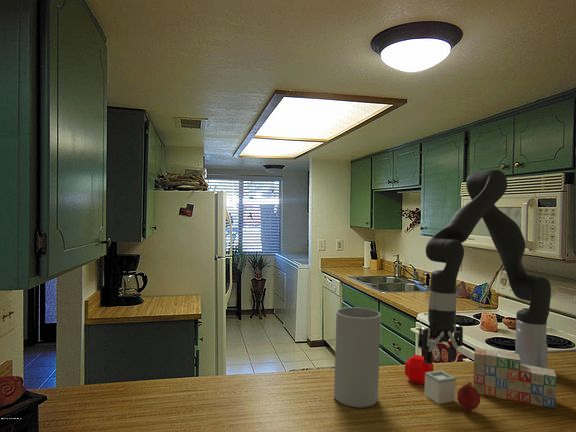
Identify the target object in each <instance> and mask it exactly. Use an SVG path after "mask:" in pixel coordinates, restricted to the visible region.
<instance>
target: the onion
mask: <svg viewBox="0 0 576 432" xmlns="http://www.w3.org/2000/svg"><path fill="white" fill-rule="evenodd" d="M456 396H457V398H456V399H457V402H458V404H459V405H460V406H461V407H462V408H463V409H464V410H466V411H467V412H471V411H473V410H475V409H477V408H478V407H479V405H480V404H481V394H479V393H478V391H477V390H476V389H475V388H474V385H473V383H472V382H471V381H468V382H467V383H466V384H464V385H462V386H461V387H460V388H459V389H458V391H457V394H456Z"/></svg>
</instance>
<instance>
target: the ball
mask: <svg viewBox="0 0 576 432" xmlns="http://www.w3.org/2000/svg"><path fill="white" fill-rule="evenodd" d="M432 371H434V364H433V363H432V364H427V363H425V361H424V355H419V354H414V355H413V356H411V357H409V359H407V360H406V361H405V363H404V374H405V376H406V377H407V378H408V379H409V381H410V383H415V382H416V384H419V383H420V385H425V372H432Z"/></svg>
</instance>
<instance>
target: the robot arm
mask: <svg viewBox="0 0 576 432" xmlns="http://www.w3.org/2000/svg"><path fill="white" fill-rule="evenodd" d="M465 187H466V190H467V193H468V195H469V198H470V199H471V201H469V202H468V203H466V204H465V205H463V206H462V207H461V208H459V209H458V210H457V211H456V212H455V213H454V214H453V215H452V217H451V218H450V219H449V221H448V223H447V224H446V226H444V227H443V228H442V229H440V230H439V231H437V233H435V234H434V235H433V236H432V237H431V238H430V239H429V240H428V241H427V244H426V246H425V255H426V257H427V258H428V260H429V261H431V262H436V263H443V264H445V265H444V267H443V269H441V270H434V271H432V272H431V274H430V286H429V287H430V291H429V295H428V296H429V297H428V312H427V314H428V315H427V317H428V318H427V320H428V323H429V325H428V326H427V327H423V326H420V327H419V331H418V339H417V340H418V341H417V347H418V348H420V349H422V350H423V356H424V361H425V363H427V364H433V350H434V347H436V346H437V345H438V344H439V343H443V342H444V343H447V344H448V346H449V347H448V348H447V349H448V351H447V355H448V356H447V358H448V360H449V361H450V362H455V361H456V359H457V349H458V348H459V347H462V346H463V345H464V328H463V326H462V325H460V324H456V320H457V319H456V318H457V317H456V316H457V294H456V292H457V278H458V274H459V273H460V268H461V265H462V264H463V263H462V262H463V260H464V257H465V249H464V245H463V243H464V242H466V241H468V239H469V237H470V235H471V233H472V232H473V231H474V229H475V227H476V226H477V224H478V223H479V222H480V221H481V219H482V220H483V222H484V224H485V226H486V229H487V231H488V233H489V236H490V238H491V240H492V243H493V245H494V247H495V249H496V251H497V253H498V255H499V258H500V260H501V262H502V265H503V267H504V269H505V272H506V277H507V279H508V282H509V285H510V289H511V291H512V293H513V295H514V296H515V297H516V298H517V299H519V300H522V301H525V302H526V301H527V302H529V307H528V308H527V309H520V310H518V311H517V312H516V314H515V315H516V317H515V318H516V319H515V321H516V323H515V324H516V325H515V347H514V348H515V349H514V350H515V351H514V353H515V354H519V357H520V364H523V365H529V366H535V367H541V368H547V369H548V352H549V351H548V348H549V347H548V346H549V344H547V328H548V327H547V326H548V318H549V315H550V309H551V308H550V306H551V300H552V299H551V298H552V287H551V285H552V284H551V282H550V280H549V279H548V278H547V277H544V276H539V275H534V274H528V273H527V272H526V270H525V267H524V265H523V263H522V262H523V258H524V253H525V250H526V247H527V245H526V239H525V238H524V235H523V232H522V230H521V228H520V226H519V225H518V224H517V222H515V220H513V219H512V218H511V217H509V216H508V215H507V214H506V213H504V212H503V211H502V210H501V209H499V208H498V207H497V206H496V204H497V202H498V201H499V200H500V199H502V198H503V196H504V194H505V193H506V191H507V188H508V178H507V176H506V174H505V173H504V171H502V170H501V169H489V170H484V171H483V170H482V171H478V172H473V173H471V174H469V175H468V176H467V177H466V182H465Z"/></svg>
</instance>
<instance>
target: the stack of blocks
mask: <svg viewBox="0 0 576 432" xmlns="http://www.w3.org/2000/svg"><path fill="white" fill-rule="evenodd" d="M473 354H474V355H473V357H474V360H473V387H474V388H475V389H476V390H477V391H478V393H479V395H484V396H489V395H490V396H489V397H493V396H494V398H499V399H503V400H510V401H516V402H520V403H526V404H531V405H535V406H540V407H545V408H550V409H556V401H557V399H556V398H557V375H556V373H555V370H554V369H553V368H548V367H547V368H541V367H535V366H529V365H523V364H520V357H519V354H515V352H514V353H513V352H508V351H501V350H496V349H495V350H494V349H488V348H481V347H475V349H474V353H473Z"/></svg>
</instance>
